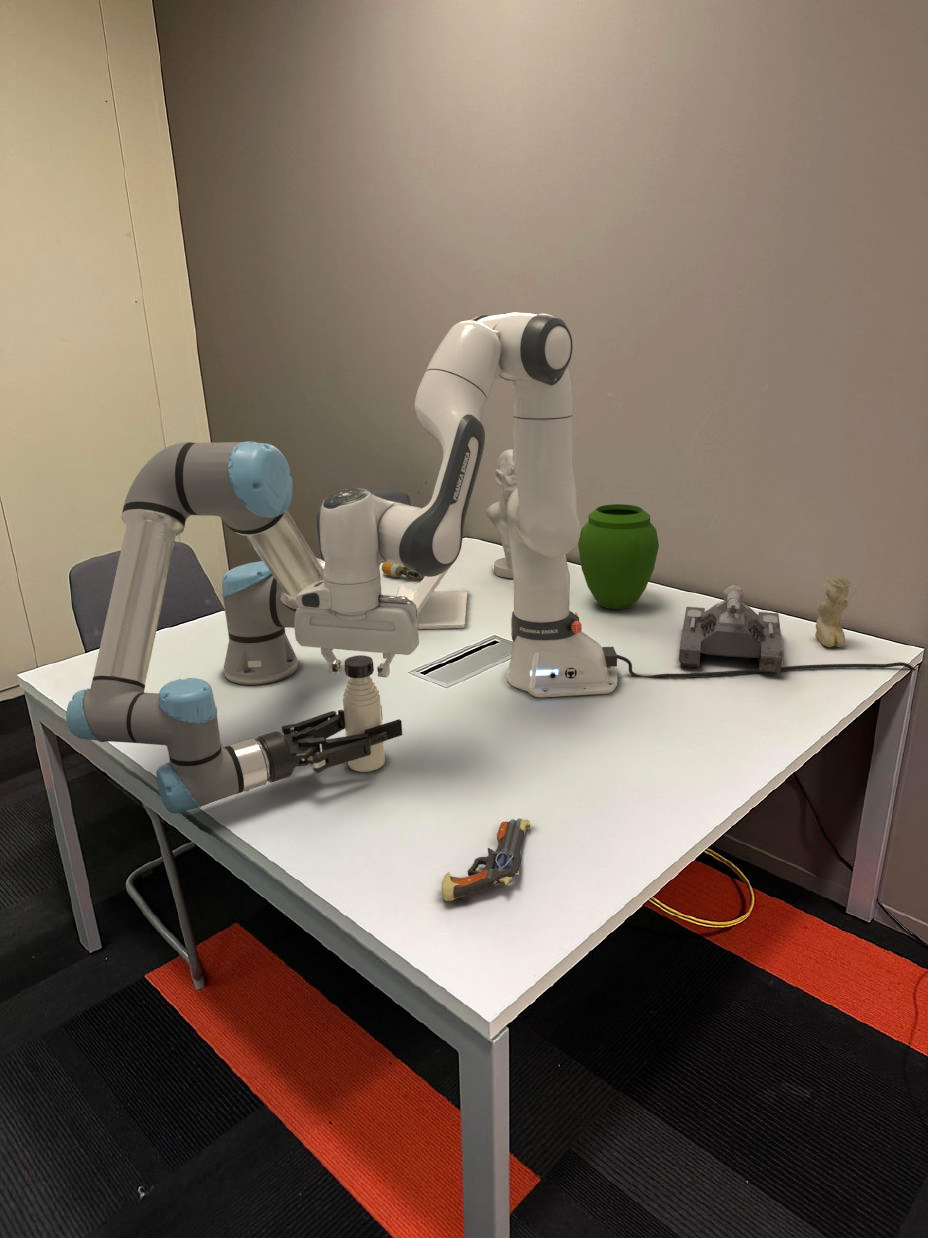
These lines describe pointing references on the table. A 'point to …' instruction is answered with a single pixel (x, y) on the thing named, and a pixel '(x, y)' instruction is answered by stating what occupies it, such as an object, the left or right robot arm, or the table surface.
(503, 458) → the bust sculpture
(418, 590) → the tablet stand
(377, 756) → the bottle
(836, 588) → the sculpture
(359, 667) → the cap
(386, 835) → the table surface
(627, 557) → the vase
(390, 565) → the spray gun
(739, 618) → the toy
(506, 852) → the toy gun
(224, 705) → the table surface
